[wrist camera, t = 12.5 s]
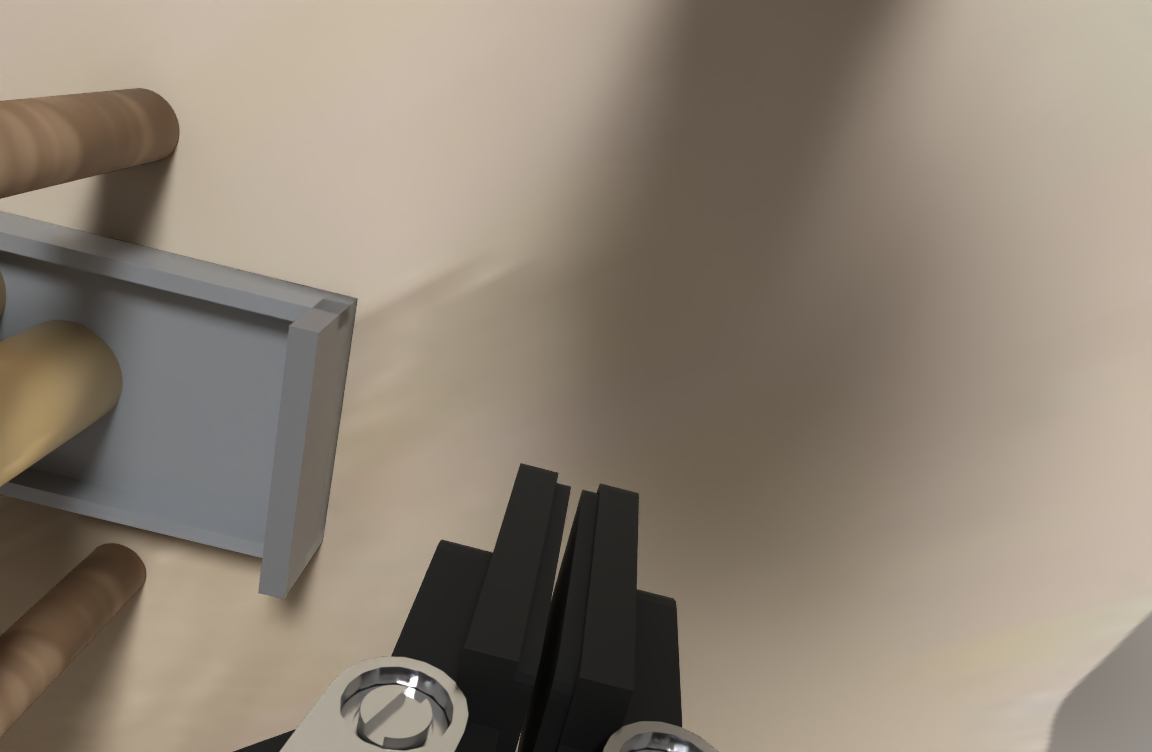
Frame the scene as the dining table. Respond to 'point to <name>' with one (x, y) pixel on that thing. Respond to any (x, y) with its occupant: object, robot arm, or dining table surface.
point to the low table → (30, 162)
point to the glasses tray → (170, 393)
